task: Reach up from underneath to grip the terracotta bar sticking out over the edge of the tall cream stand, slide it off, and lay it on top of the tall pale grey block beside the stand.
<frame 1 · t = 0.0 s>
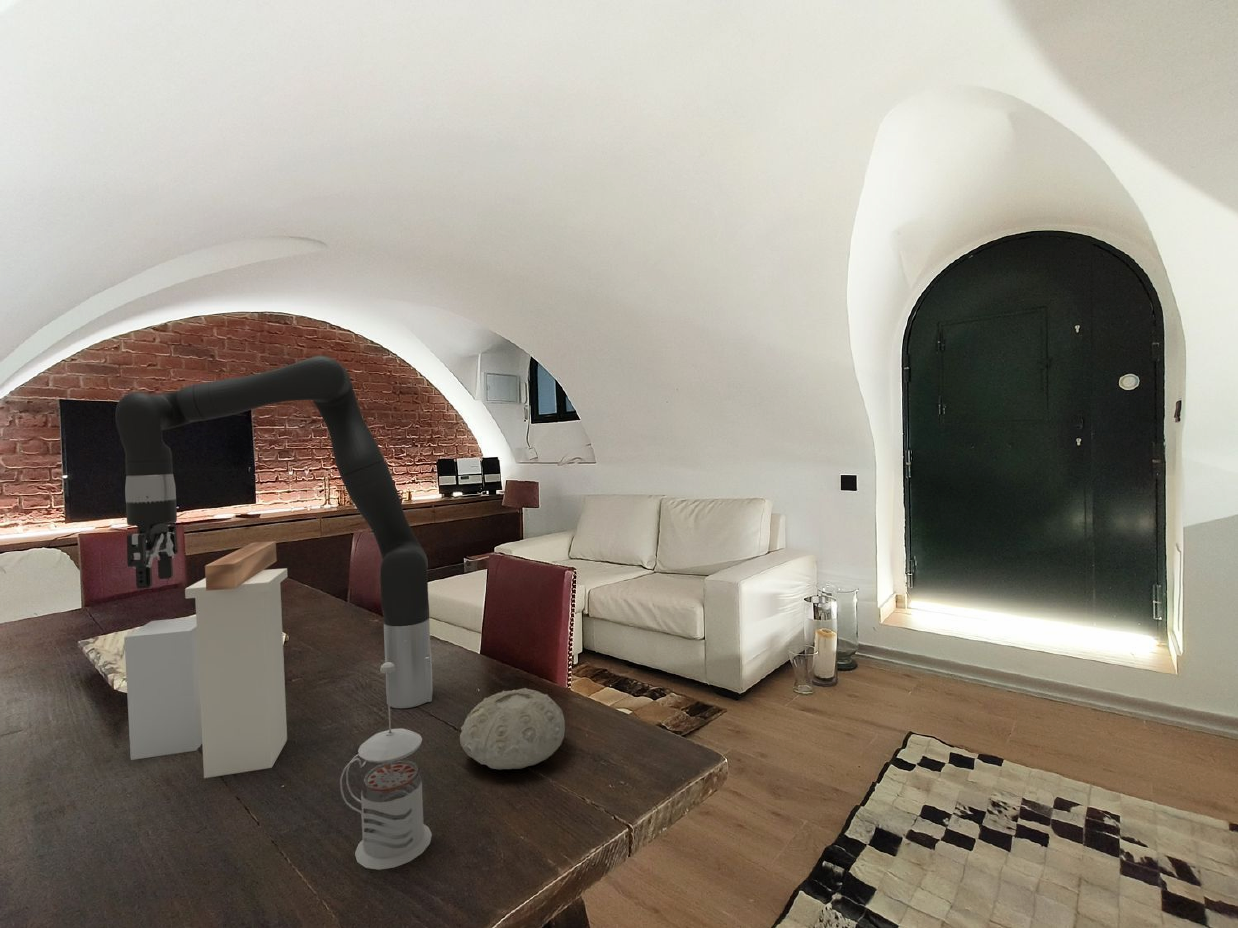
hand: (155, 582, 113), 29 cm above the table, tool pointing down, fingers open, 8 cm apart
decorative shell: (514, 755, 103), on the table
grey block: (176, 741, 110), on the table
french press: (387, 844, 81), on the table
terracotta bar: (245, 574, 106), point 32 cm above the table, touching cream stand
cream stand: (248, 757, 104), on the table
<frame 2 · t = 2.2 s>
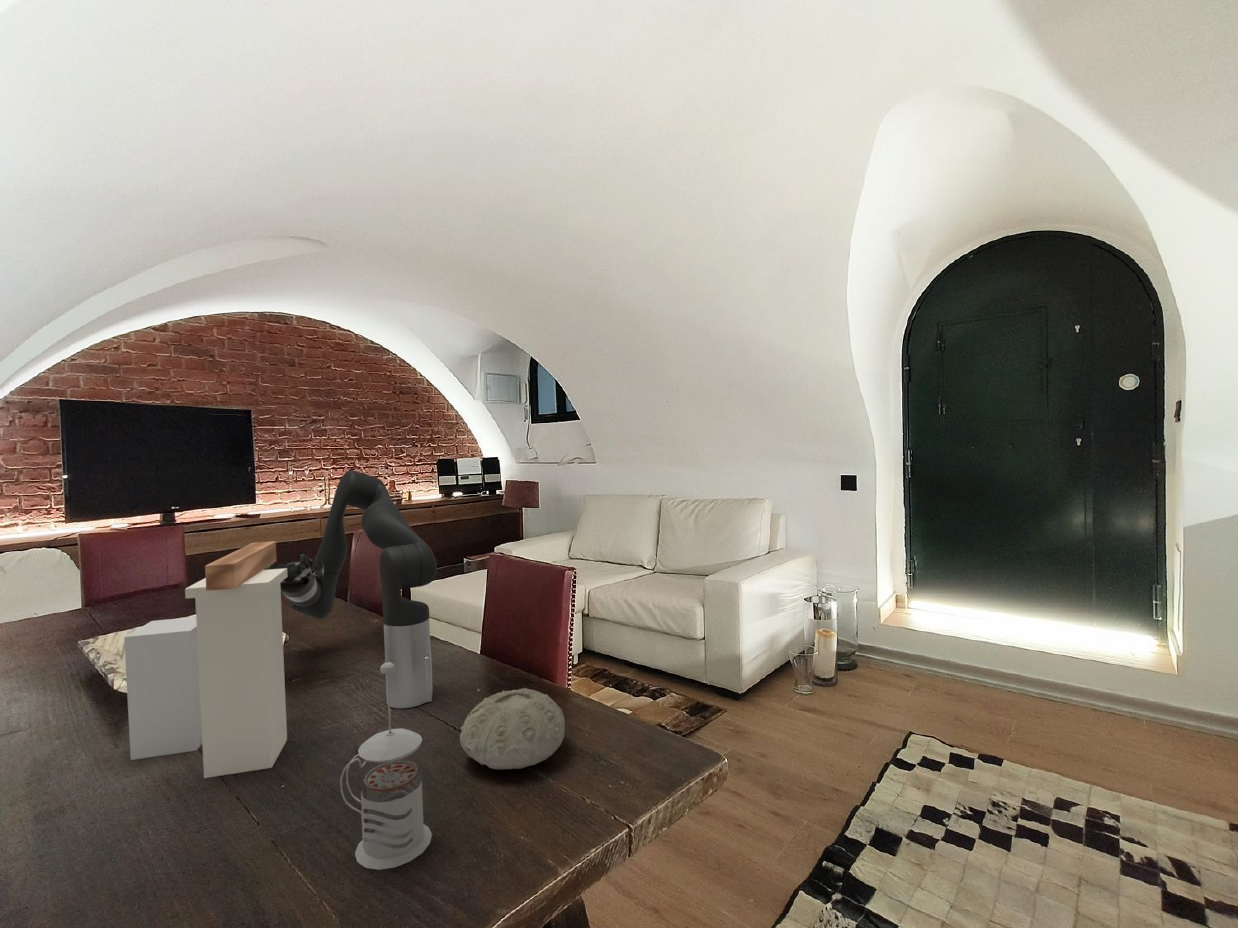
hand: (280, 559, 127), 30 cm above the table, tool pointing upward, fingers open, 8 cm apart
nothing on the table moved.
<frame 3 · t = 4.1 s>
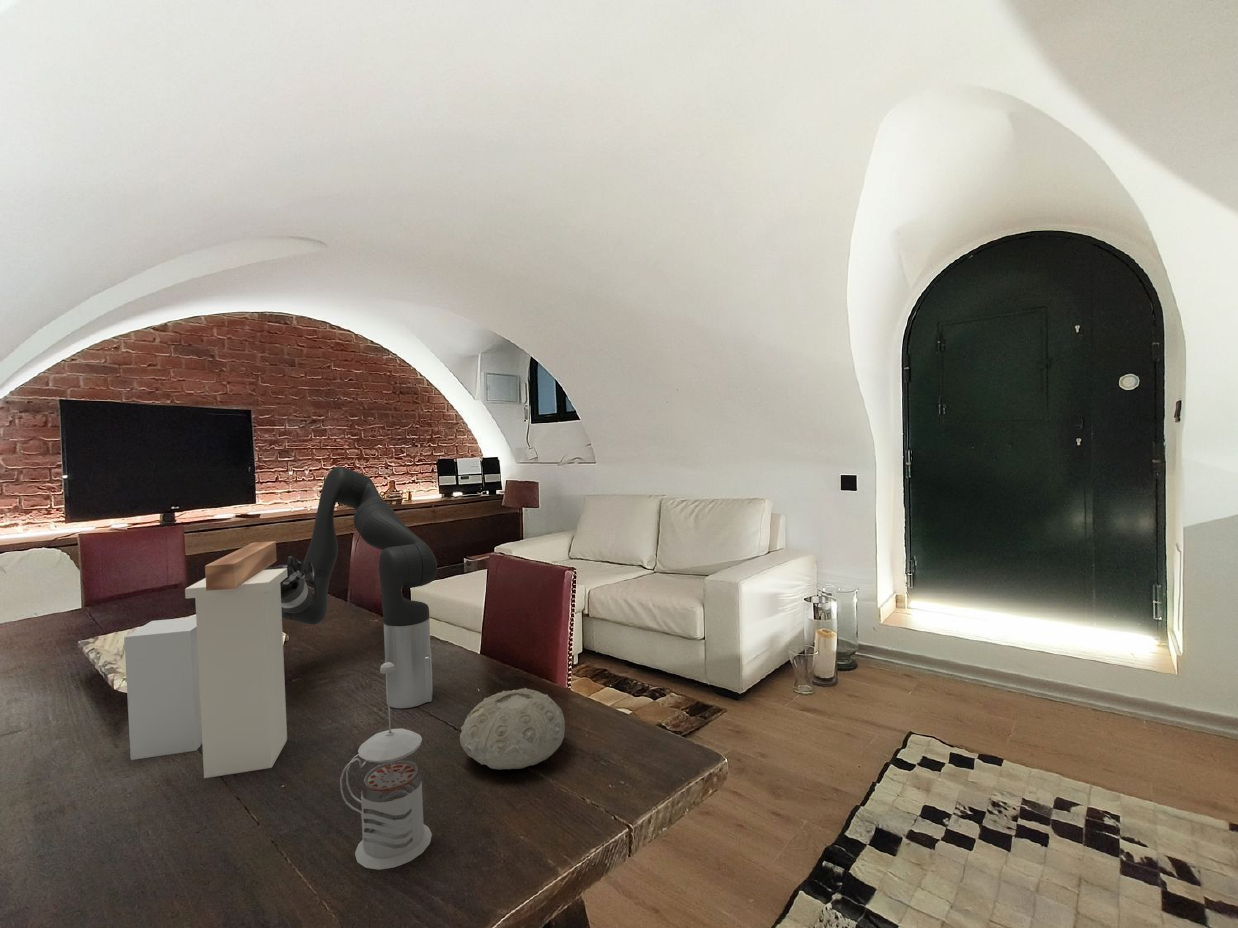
hand: (265, 562, 118), 32 cm above the table, tool pointing upward, fingers open, 8 cm apart
nothing on the table moved.
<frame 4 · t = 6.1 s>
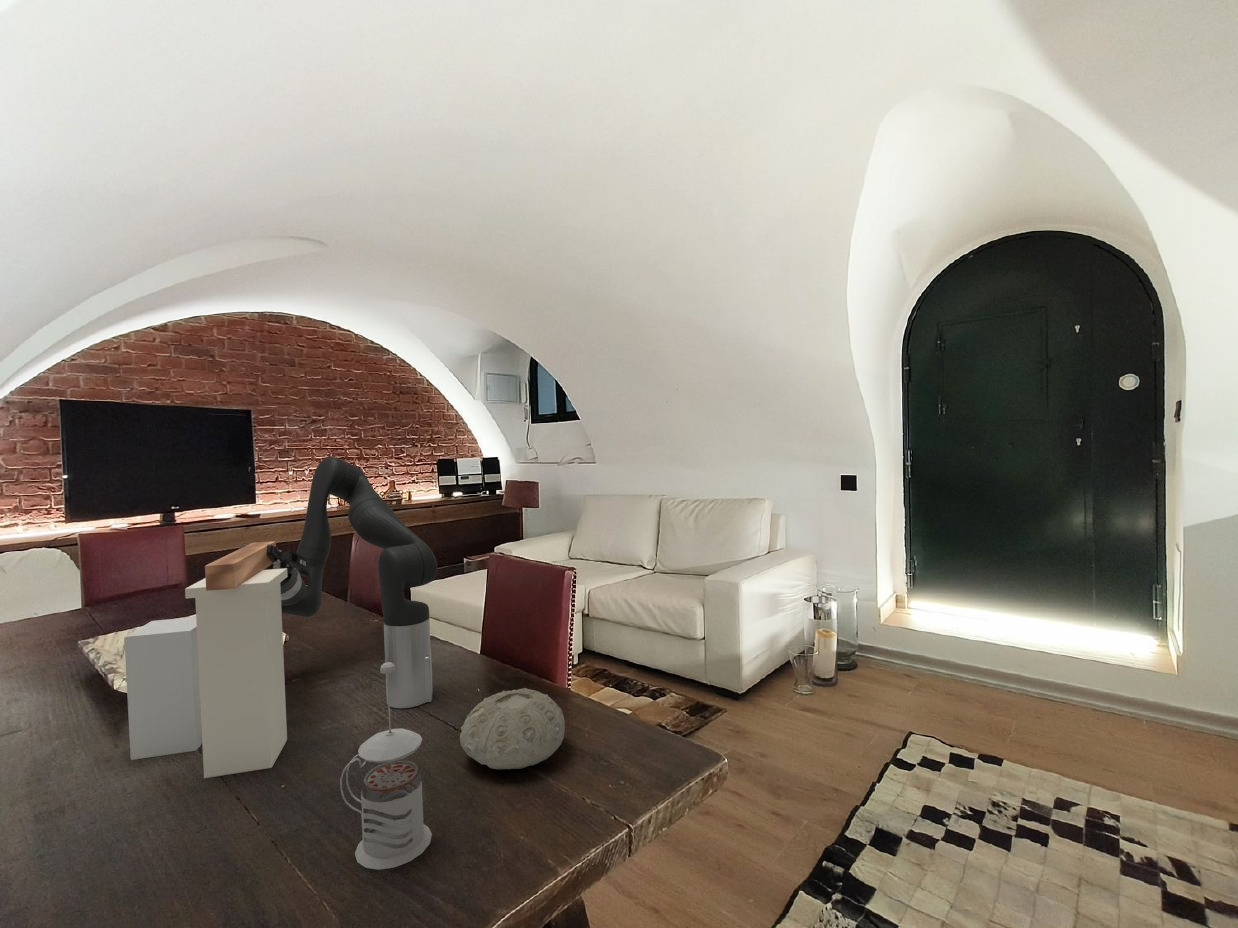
hand: (255, 549, 112), 35 cm above the table, tool pointing upward, fingers closed on terracotta bar, 4 cm apart
terracotta bar: (245, 574, 106), point 32 cm above the table, touching cream stand, gripper
everything else where it was.
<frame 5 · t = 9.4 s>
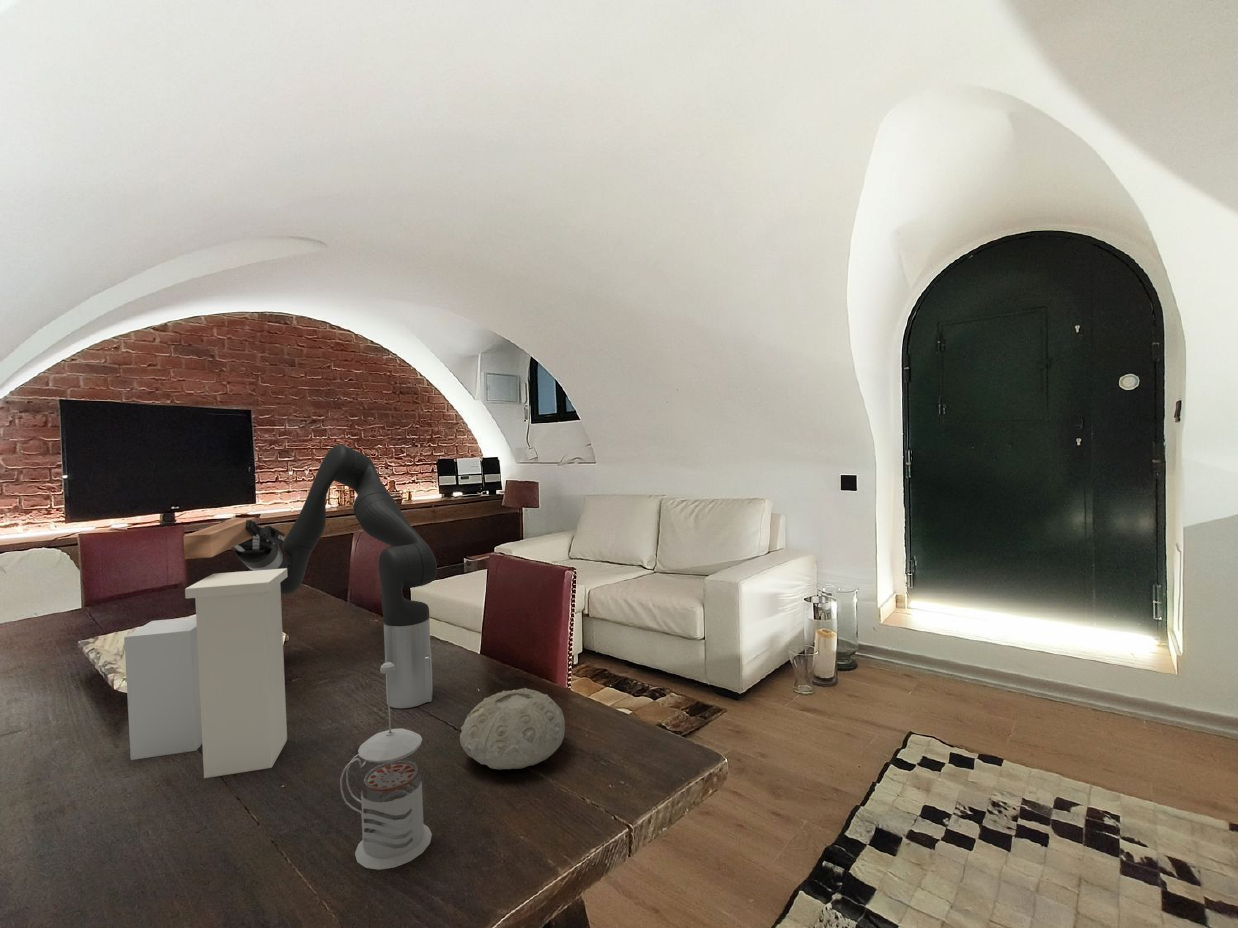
hand: (235, 524, 120), 39 cm above the table, tool pointing upward, fingers closed on terracotta bar, 4 cm apart
terracotta bar: (224, 546, 114), point 36 cm above the table, touching gripper
everything else where it was.
when the fingers open (27 cm above the table, at t = 12.7 s): terracotta bar drops 2 cm, resting on grey block.
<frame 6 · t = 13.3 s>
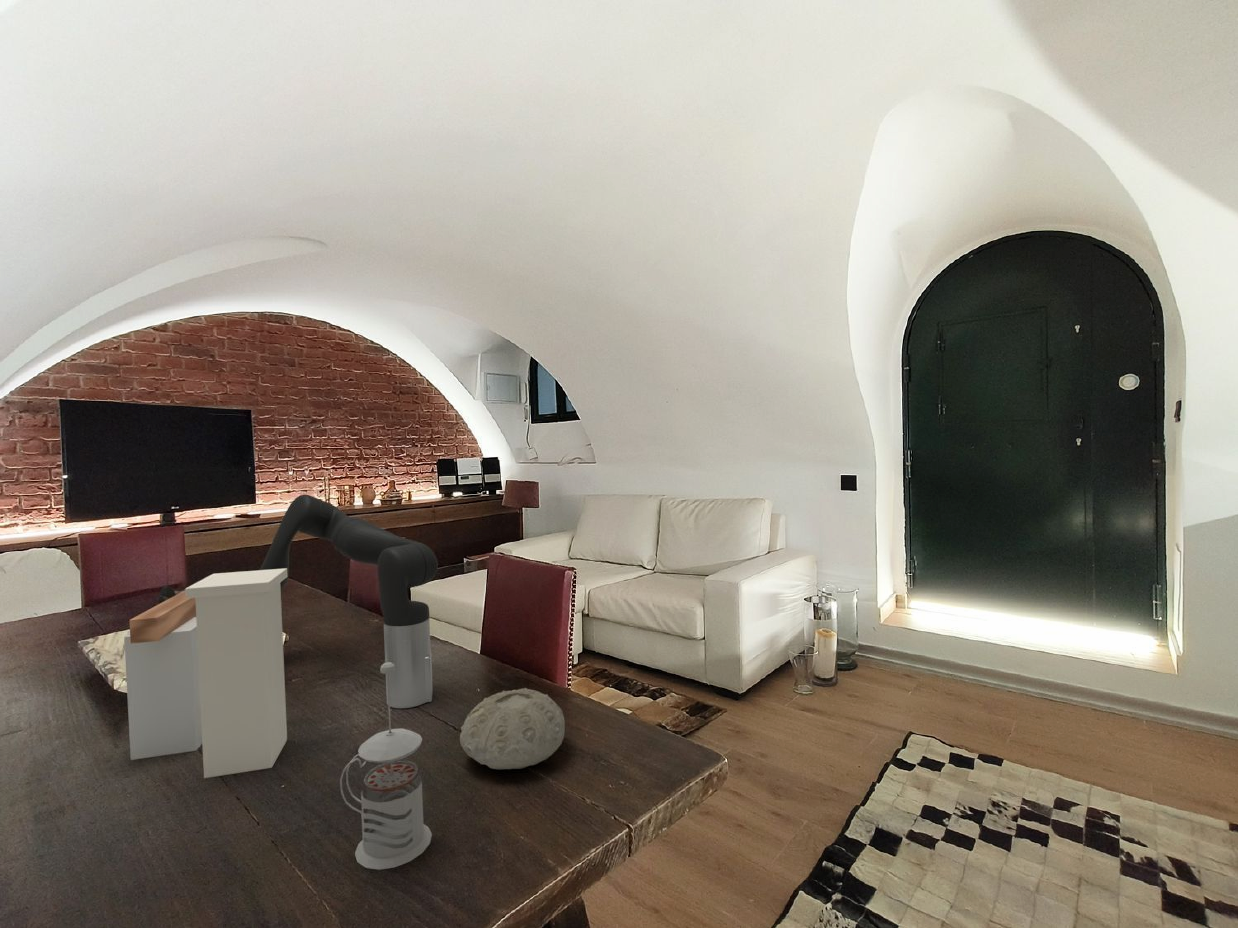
hand: (189, 588, 118), 27 cm above the table, tool pointing upward, fingers open, 8 cm apart
terracotta bar: (175, 622, 112), point 22 cm above the table, touching grey block
everything else where it was.
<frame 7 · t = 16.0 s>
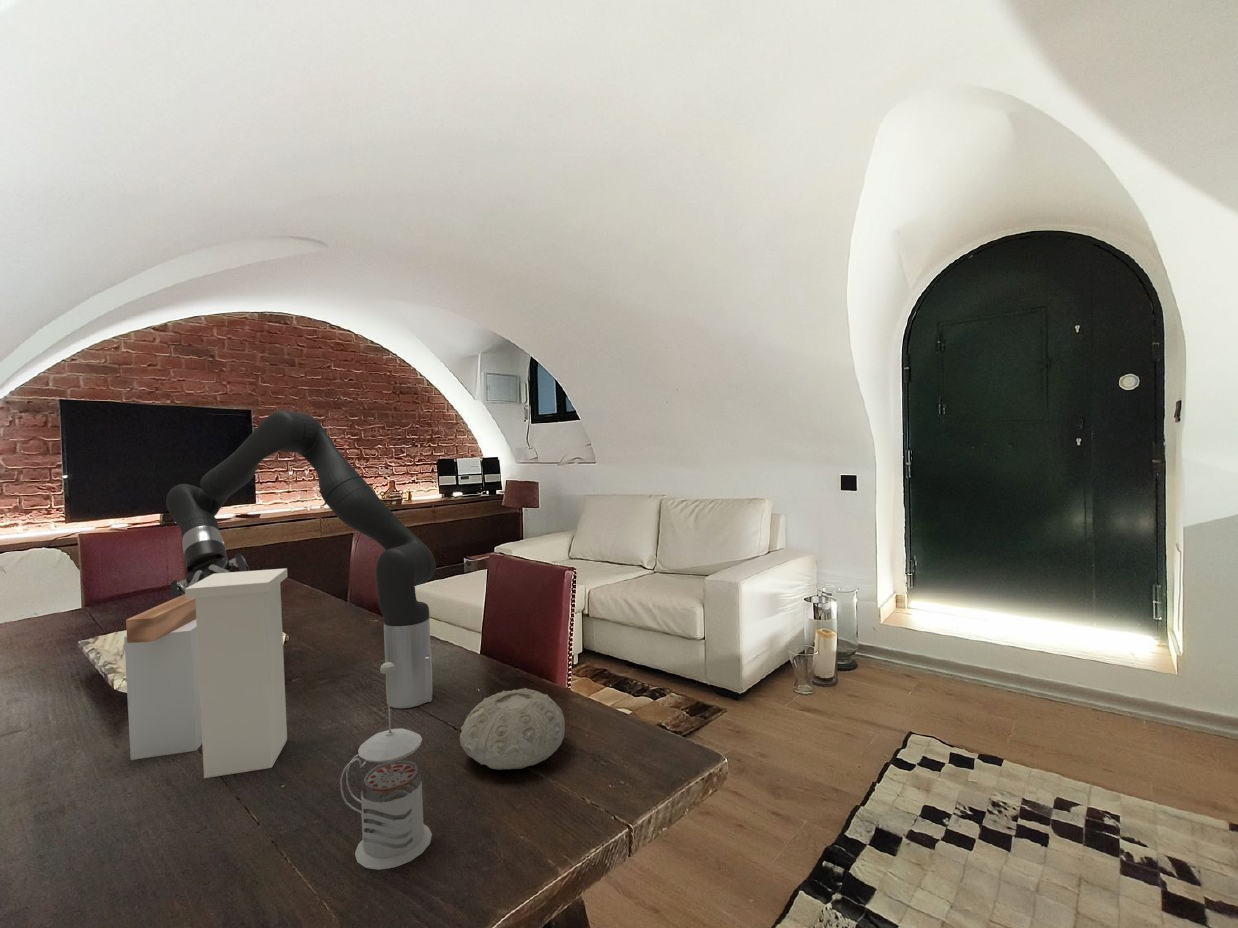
hand: (216, 606, 122), 22 cm above the table, tool tilted 50°, fingers open, 8 cm apart
terracotta bar: (180, 621, 112), point 22 cm above the table
everything else where it was.
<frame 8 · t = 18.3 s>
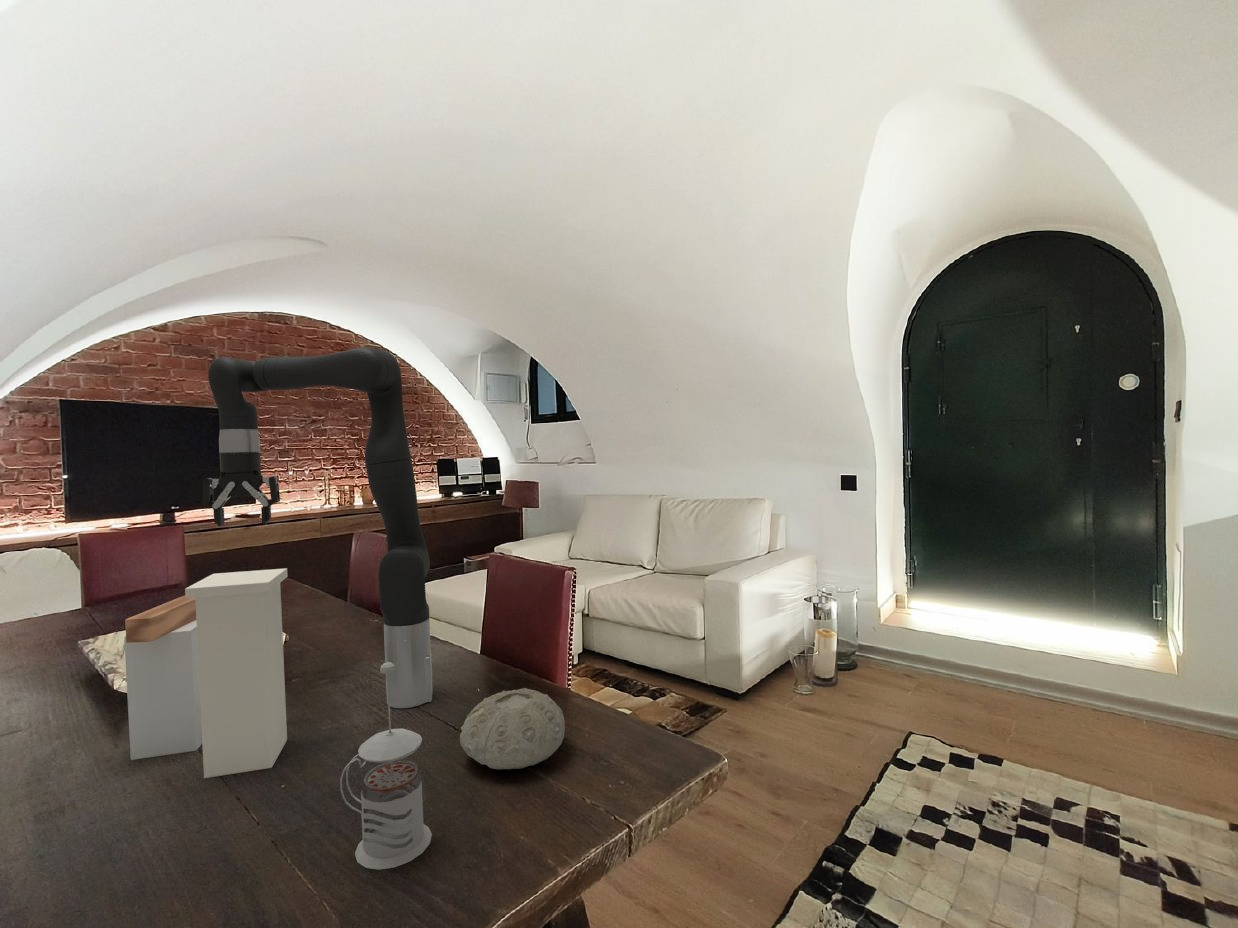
hand: (243, 524, 129), 38 cm above the table, tool pointing down, fingers open, 8 cm apart
terracotta bar: (182, 621, 112), point 22 cm above the table, touching grey block
everything else where it was.
at the end: terracotta bar inside the target area on the grey block (1.4 cm from its centre), point 22.0 cm above the grey block's base; terracotta bar touching grey block; the gripper is holding nothing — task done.
